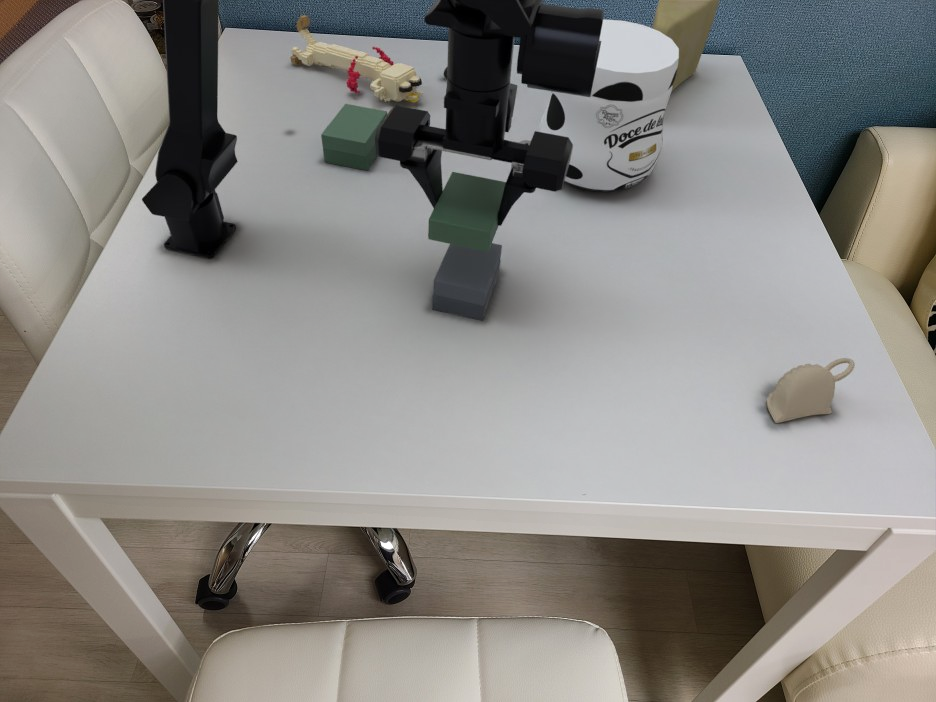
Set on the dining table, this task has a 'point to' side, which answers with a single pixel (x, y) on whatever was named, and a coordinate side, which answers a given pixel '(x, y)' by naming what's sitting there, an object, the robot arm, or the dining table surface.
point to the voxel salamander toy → (360, 67)
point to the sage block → (467, 212)
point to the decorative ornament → (805, 391)
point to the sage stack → (352, 137)
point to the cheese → (686, 30)
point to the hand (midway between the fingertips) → (469, 216)
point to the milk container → (617, 109)
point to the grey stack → (466, 280)
